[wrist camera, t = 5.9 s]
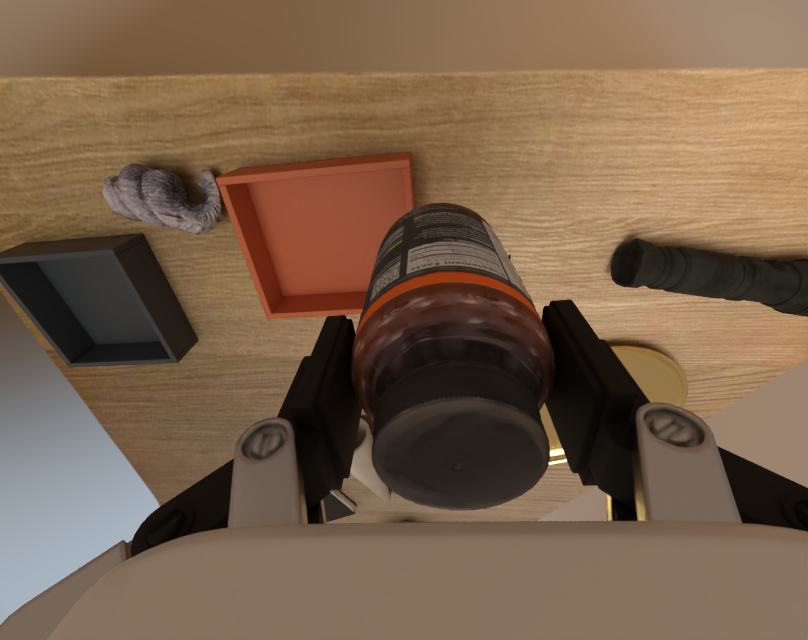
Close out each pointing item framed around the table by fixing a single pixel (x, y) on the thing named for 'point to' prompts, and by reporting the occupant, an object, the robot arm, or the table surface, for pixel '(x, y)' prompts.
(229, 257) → the table surface
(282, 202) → the terracotta bin
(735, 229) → the table surface
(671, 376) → the serving platter
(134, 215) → the grey curved ribbed piece
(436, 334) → the supplement bottle
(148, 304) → the slate bin
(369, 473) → the long tapered cone
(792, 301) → the flashlight
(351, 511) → the smartphone
